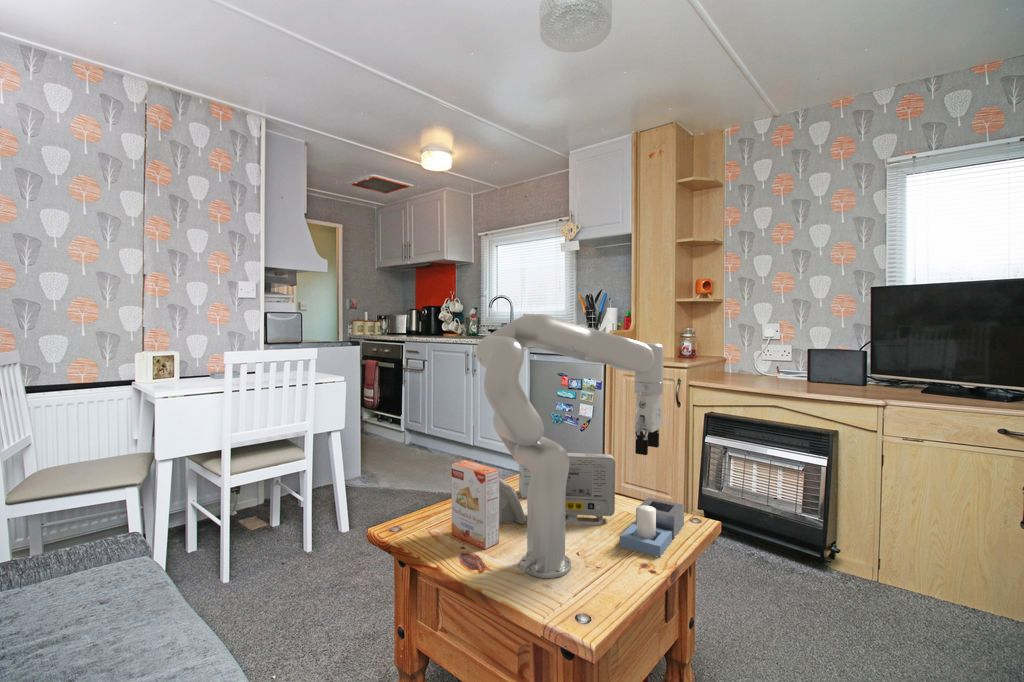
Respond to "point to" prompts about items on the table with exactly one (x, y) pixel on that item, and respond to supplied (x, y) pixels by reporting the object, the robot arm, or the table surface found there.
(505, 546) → the table surface
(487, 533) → the cracker box
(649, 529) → the plug
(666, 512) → the upper socket
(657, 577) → the table surface
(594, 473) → the network device
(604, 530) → the table surface
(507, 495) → the digital clock
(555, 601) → the table surface
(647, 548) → the lower socket
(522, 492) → the supplement box
